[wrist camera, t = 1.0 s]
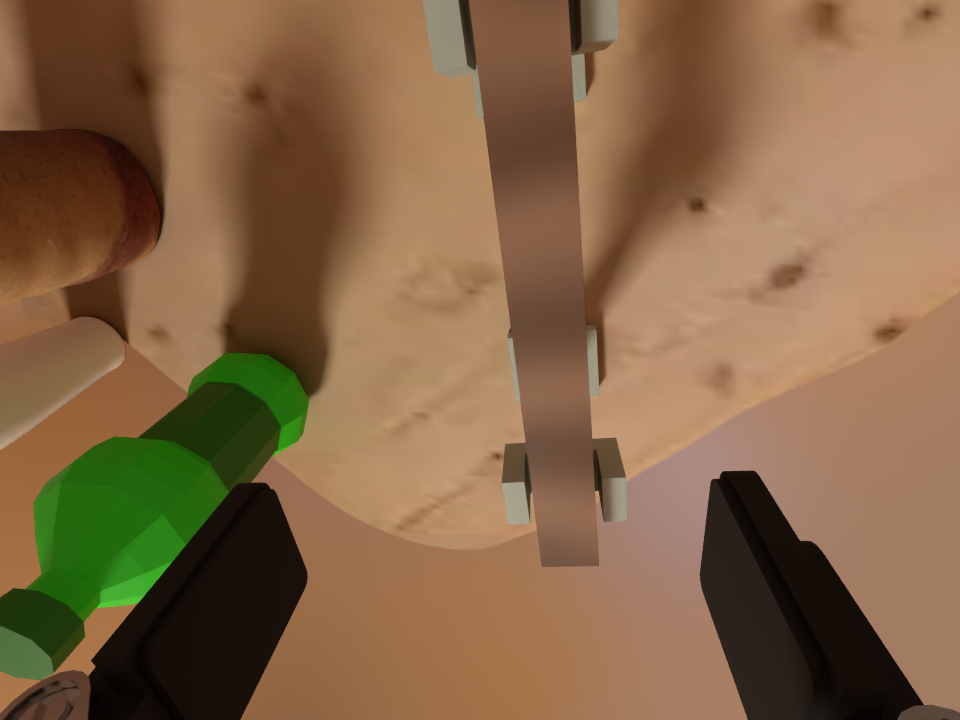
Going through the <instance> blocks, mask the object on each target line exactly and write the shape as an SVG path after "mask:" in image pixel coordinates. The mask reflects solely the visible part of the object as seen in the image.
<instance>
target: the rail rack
mask: <svg viewBox="0 0 960 720" xmlns="http://www.w3.org/2000/svg"><path fill="white" fill-rule="evenodd" d="M568 3H569V22H570V40H571V58H572V77H573V95H574V102H578V101H584V100H586V81H585V58H584V53H589V52H595V51H600V50H605V49H606V48H608V47H609V46H610V45H611V44H612V43H613V42H614V41H615V40H616V39H617V38H618V37H619V32H618V0H568ZM423 5H424V11H425V17H426V24H427V30H428V36H429V42H430V48H431V54H432V60H433V66H434V71H435V72H437V73H439V74H441V75H444V76H446V77H448V78H453V77H458V76H464V75H469V74H472V77H473V84H474V92H475V99H476V107H477V114H478V118H482V117H484V115H483V107H482V99H481V91H480V84H479V76H478V68H477V60H476V53H475V45H474V37H473V30H472V22H471V14H470V6H469V0H423ZM586 335H587V354H588V372H589V391H590V396H599V377H598V354H597V332H596V327H595V324H592V325H586ZM508 346H509V353H510V361H511V368H512V375H513V383H514V390H515V398H516V402H520V394H519V386H518V378H517V370H516V363H515V355H514V347H513V339H512V332H508ZM592 446H593V465H594V483H595V491H599V496H600V502H601V508H602V514H603V520H604V522H607V521H608V522H609V521H627V511H626V509H627V508H626V475H625V472H624V468H623V464H622V460H621V456H620V452H619V448H618V444H617V440H616V438H602V439H592ZM502 488H503V494H504V500H505V506H506V512H507V518H508V524H509V525H513V524H530V494H532V487H531V479H530V471H529V463H528V456H527V448H526V443H516V444H505V453H504V464H503V475H502Z"/></svg>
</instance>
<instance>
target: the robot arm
mask: <svg viewBox="0 0 960 720" xmlns="http://www.w3.org/2000/svg"><path fill="white" fill-rule="evenodd" d="M700 581H701V587H702V591H703V594H704V597H705V600H706V602H707V605H708V608H709V611H710V614H711V617H712V619H713V622H714V625H715V628H716V631H717V633H718V636H719V639H720V642H721V645H722V648H723V650H724V653H725V656H726V659H727V661H728V665H729V667H730V670H731V673H732V676H733V679H734V682H735V684H736V687H737V690H738V693H739V696H740V698H741V701H742V704H743V707H744V710H745V713H746V715H747V718H748V720H960V713H959V712H957V711H955V710H951V709H947V708H942V707H938V706H934V705H924V704H923V703H922V701H921V700H920V698H919V697H918V695H917V694H916V692H915V691H914V689H913V688H912V686H911V685H910V683H909V682H908V680H907V679H906V677H905V676H904V674H903V673H902V671H901V670H900V668H899V667H898V665H897V664H896V662H895V661H894V659H893V658H892V656H891V655H890V653H889V651H888V650H887V648H886V647H885V646H884V644H883V642H882V641H881V639H880V638H879V636H878V635H877V633H876V632H875V631H874V629H873V627H872V626H871V625H870V623H869V621H868V620H867V618H866V617H865V615H864V614H863V612H862V611H861V609H860V608H859V606H858V605H857V603H856V602H855V601H854V599H853V597H852V596H851V594H850V593H849V591H848V590H847V588H846V587H845V585H844V584H843V582H842V581H841V579H840V578H839V576H838V575H837V573H836V572H835V570H834V569H833V567H832V566H831V564H830V563H829V561H828V560H827V558H826V557H825V555H824V554H823V552H822V551H821V550H820V549H819V547H818V546H817V545H816V544H814V543H812V542H811V541H800V540H799V539H798V537H797V535H796V534H795V532H794V531H793V529H792V527H791V526H790V524H789V523H788V521H787V519H786V518H785V516H784V515H783V513H782V512H781V510H780V508H779V507H778V505H777V504H776V502H775V500H774V499H773V497H772V496H771V494H770V492H769V491H768V489H767V488H766V486H765V485H764V483H763V481H762V480H761V478H760V476H759V475H758V474H757V473H756V472H755V471H724V472H722V473H721V475H720V479H712V481H711V485H710V493H709V501H708V510H707V518H706V526H705V536H704V544H703V552H702V561H701V570H700ZM306 584H307V570H306V567H305V565H304V562H303V559H302V557H301V554H300V552H299V549H298V547H297V544H296V542H295V539H294V537H293V534H292V532H291V529H290V527H289V524H288V522H287V519H286V516H285V514H284V512H283V509H282V506H281V504H280V501H279V499H278V496H277V494H276V492H275V491H274V490H273V489H270V487H269V486H268V485H267V484H266V483H239V484H237V485H236V486H235V487H233V489H232V490H231V491H230V492H229V493H228V495H227V496H226V497H225V498H224V500H223V501H222V502H221V503H220V504H219V506H218V507H217V508H216V509H215V510H214V512H213V513H212V514H211V515H210V517H209V518H208V519H207V520H206V521H205V523H204V524H203V525H202V526H201V527H200V529H199V530H198V531H197V532H196V534H195V535H194V536H193V537H192V538H191V540H190V541H189V542H188V543H187V545H186V546H185V547H184V548H183V549H182V551H181V552H180V553H179V554H178V555H177V557H176V558H175V559H174V560H173V562H172V563H171V564H170V565H169V566H168V568H167V569H166V570H165V571H164V572H163V574H162V575H161V576H160V577H159V579H158V580H157V581H156V582H155V583H154V585H153V586H152V587H151V588H150V589H149V591H148V592H147V593H146V594H145V596H144V597H143V598H142V599H141V600H140V602H139V603H138V604H137V605H136V606H135V608H134V609H133V610H132V612H131V613H130V614H129V615H128V616H127V617H126V619H125V620H124V621H123V623H122V624H121V625H120V626H119V627H118V629H117V630H116V631H115V632H114V633H113V634H112V636H111V637H110V638H109V640H108V641H107V642H106V643H105V644H104V645H103V647H102V648H101V649H100V650H99V652H98V653H97V654H96V655H95V656H94V658H93V659H92V660H91V661H92V662H93V664H94V665H95V666H96V667H95V669H94V670H93V671H92V672H91V674H90V675H89V676H87V675H86V674H85V673H84V672H81V671H75V670H72V671H66V672H61V673H58V674H55V675H53V676H50V677H48V678H46V679H44V680H42V681H40V682H39V683H37V684H35V685H34V686H32V687H30V688H29V689H27V690H26V691H25V692H23V693H22V694H21V695H20V696H18V697H17V698H16V699H15V700H13V701H12V702H11V703H10V704H9V705H8V706H7V707H6V708H5V709H4V710H3V711H2V713H0V720H240V719H241V717H242V715H243V713H244V711H245V709H246V707H247V705H248V703H249V701H250V699H251V697H252V695H253V693H254V691H255V689H256V687H257V685H258V683H259V681H260V679H261V677H262V675H263V673H264V670H265V669H266V666H267V664H268V662H269V660H270V658H271V656H272V654H273V652H274V650H275V648H276V646H277V644H278V642H279V640H280V638H281V636H282V634H283V632H284V630H285V628H286V626H287V624H288V622H289V620H290V618H291V616H292V614H293V612H294V609H295V608H296V605H297V603H298V601H299V599H300V598H301V595H302V593H303V591H304V589H305V587H306Z"/></svg>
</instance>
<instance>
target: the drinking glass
mask: <svg viewBox="0 0 960 720" xmlns="http://www.w3.org/2000/svg"><path fill="white" fill-rule="evenodd" d="M125 355H126V350H125V345H124V342H123V340H122V338H121V336H120V335H119V334H118V332H117V331H116V330H115V329H114V328H113V327H112V326H110V325H109V324H107V323H106V322H104V321H102V320H100V319H97V318H94V317H78V318H75V319H72V320H70V321H68V322H65V323H63V324H61V325H58V326H55V327H52V328H50V329H47V330H44V331H41V332H38V333H35V334H32V335H29V336H26V337H23V338H20V339H17V340H14V341H11V342H9V343H5V344H2V345H0V450H1V449H3V448H4V447H6V446H7V445H9V444H11V443H12V442H13V441H15V440H16V439H18V438H20V437H21V436H22V435H24V434H25V433H27V432H28V431H29V430H31V429H32V428H33V427H35V426H36V425H38V424H39V423H40V422H42V421H43V420H44V419H46V418H47V417H48V416H50V415H51V414H52V413H53V412H55V411H56V410H58V409H59V408H60V407H62V406H63V405H64V404H66V403H67V402H68V401H70V400H71V399H73V398H74V397H75V396H77V395H78V394H79V393H81V392H82V391H83V390H85V389H86V388H87V387H89V386H90V385H92V384H93V383H94V382H96V381H97V380H98V379H100V378H101V377H103V376H104V375H106V374H107V373H109V372H110V371H112V370H114V369H115V368H117V367H118V366H120V365H121V363H122V362H123V361H124V358H125Z"/></svg>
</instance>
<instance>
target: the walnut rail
mask: <svg viewBox="0 0 960 720" xmlns="http://www.w3.org/2000/svg"><path fill="white" fill-rule="evenodd" d="M469 6H470V14H471V22H472V30H473V37H474V45H475V53H476V60H477V68H478V76H479V84H480V91H481V99H482V107H483V115H484V122H485V130H486V138H487V146H488V153H489V161H490V169H491V177H492V184H493V192H494V200H495V208H496V215H497V223H498V231H499V239H500V246H501V254H502V262H503V270H504V277H505V285H506V293H507V301H508V308H509V316H510V324H511V332H512V339H513V347H514V355H515V363H516V370H517V378H518V386H519V394H520V401H521V409H522V417H523V425H524V432H525V440H526V448H527V456H528V463H529V471H530V479H531V487H532V494H533V502H534V510H535V518H536V525H537V533H538V540H539V549H540V556H541V563H542V567H557V566H599V558H598V540H597V522H596V502H595V483H594V465H593V446H592V428H591V409H590V391H589V372H588V354H587V335H586V317H585V299H584V280H583V262H582V243H581V225H580V206H579V188H578V169H577V151H576V132H575V114H574V95H573V77H572V58H571V40H570V22H569V3H568V0H469Z"/></svg>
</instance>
